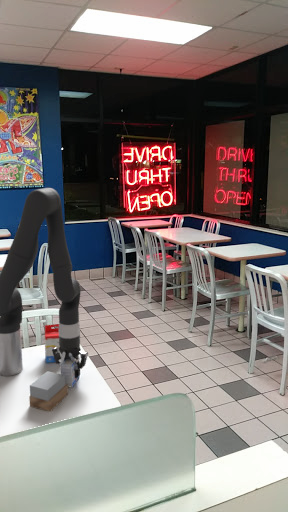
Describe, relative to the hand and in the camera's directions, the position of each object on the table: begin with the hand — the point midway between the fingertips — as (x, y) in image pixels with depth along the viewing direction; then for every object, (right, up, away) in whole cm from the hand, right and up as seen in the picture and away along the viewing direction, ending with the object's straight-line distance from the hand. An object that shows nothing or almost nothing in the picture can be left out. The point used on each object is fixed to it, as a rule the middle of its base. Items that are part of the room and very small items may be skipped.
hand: (70, 375), depth 147 cm
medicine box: (0, -3, +1) cm, 3 cm away
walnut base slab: (-5, -5, -11) cm, 13 cm away
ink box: (-9, +1, +17) cm, 19 cm away
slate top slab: (-5, -2, -12) cm, 13 cm away
